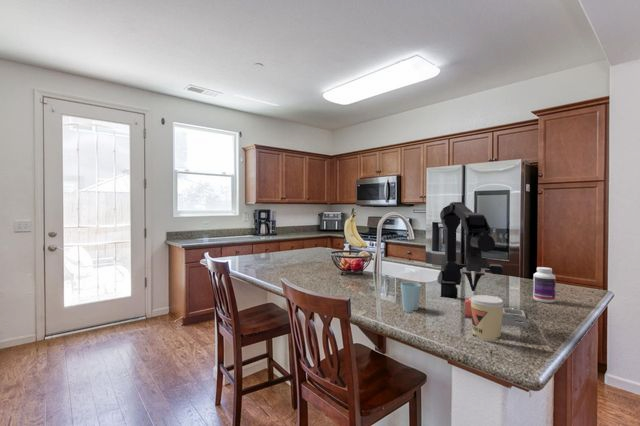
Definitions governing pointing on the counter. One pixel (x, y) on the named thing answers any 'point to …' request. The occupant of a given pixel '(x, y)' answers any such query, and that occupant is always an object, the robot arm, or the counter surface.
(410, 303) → the cup
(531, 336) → the counter surface
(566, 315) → the counter surface
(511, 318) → the panel
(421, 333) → the counter surface
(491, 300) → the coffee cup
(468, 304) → the red block with knob
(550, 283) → the pill bottle
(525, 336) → the counter surface
